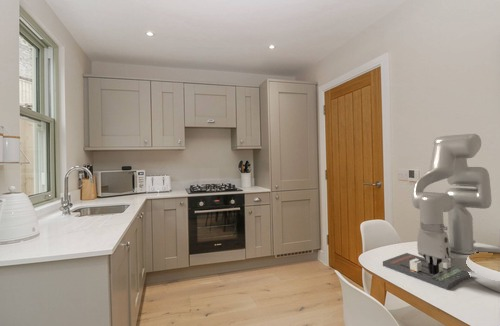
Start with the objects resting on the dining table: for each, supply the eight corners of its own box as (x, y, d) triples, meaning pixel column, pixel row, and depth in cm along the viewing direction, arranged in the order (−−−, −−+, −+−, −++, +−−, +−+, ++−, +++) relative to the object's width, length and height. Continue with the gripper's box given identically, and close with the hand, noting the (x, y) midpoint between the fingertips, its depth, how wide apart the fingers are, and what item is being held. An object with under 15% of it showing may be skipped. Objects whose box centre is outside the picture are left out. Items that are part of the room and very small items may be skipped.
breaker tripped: (414, 267, 110) (413, 257, 110) (421, 269, 108) (421, 260, 108) (409, 269, 109) (409, 259, 109) (417, 271, 106) (416, 261, 106)
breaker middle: (435, 267, 109) (434, 258, 109) (443, 270, 106) (442, 260, 106) (430, 269, 107) (430, 260, 107) (438, 272, 104) (438, 262, 104)
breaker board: (406, 256, 127) (406, 252, 127) (471, 277, 104) (471, 272, 104) (382, 265, 118) (382, 261, 118) (447, 289, 95) (447, 284, 95)
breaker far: (442, 264, 111) (442, 255, 111) (450, 266, 109) (450, 257, 109) (438, 266, 110) (438, 256, 110) (446, 268, 107) (446, 259, 107)
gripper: (459, 229, 97) (461, 278, 97) (417, 221, 110) (419, 264, 110) (448, 233, 93) (450, 283, 94) (406, 224, 107) (408, 269, 107)
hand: (433, 273), depth 102 cm, fingers closed
